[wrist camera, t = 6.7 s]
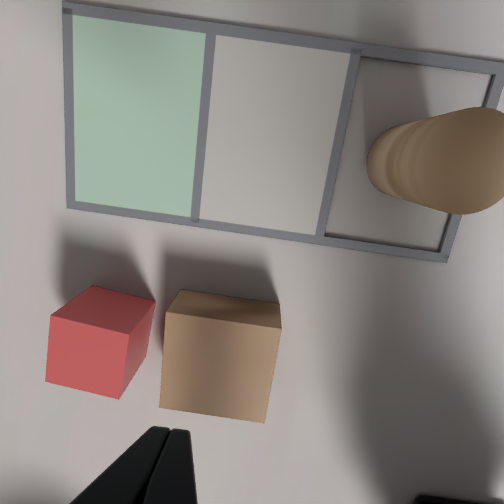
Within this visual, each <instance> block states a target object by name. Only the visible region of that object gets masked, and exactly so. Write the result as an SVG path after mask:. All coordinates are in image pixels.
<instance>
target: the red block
mask: <svg viewBox="0 0 504 504" xmlns="http://www.w3.org/2000/svg"><path fill="white" fill-rule="evenodd" d="M155 303H156V301H152V300H148V299H144V298H140V297H136V296H132V295H128V294H124V293H120V292H115V291H111V290H107V289H103V288H99V287H95V286H90V287H89V288H88V289H86V290H85V291H83V292H82V293H81V294H79V295H78V296H77V297H75V298H74V299H72V300H71V301H70V302H68V303H67V304H65V305H64V306H63V307H61V308H60V309H58V310H57V311H56V312H54V313H53V314H52V315H50V327H49V340H48V353H47V365H46V378H45V382H49V383H53V384H58V385H62V386H66V387H70V388H74V389H78V390H82V391H86V392H91V393H95V394H99V395H103V396H107V397H111V398H115V399H120V397H121V396H122V394H123V392H124V391H125V389H126V388H127V386H128V384H129V383H130V381H131V380H132V378H133V376H134V375H135V373H136V371H137V370H138V368H139V367H140V365H141V363H142V362H143V360H144V359H145V357H146V353H147V347H148V342H149V336H150V330H151V325H152V319H153V314H154V308H155Z"/></svg>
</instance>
